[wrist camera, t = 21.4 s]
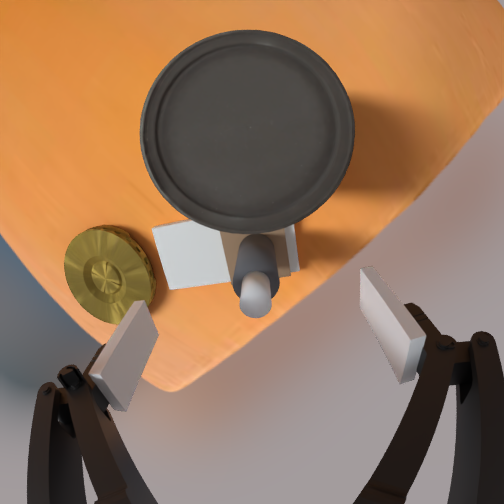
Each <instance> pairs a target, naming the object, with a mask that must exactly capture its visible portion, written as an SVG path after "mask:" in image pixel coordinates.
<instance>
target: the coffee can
mask: <svg viewBox="0 0 504 504" xmlns="http://www.w3.org/2000/svg"><path fill="white" fill-rule="evenodd" d="M354 138H355V122H354V115H353V110H352V106H351V103H350V100H349V97H348V95H347V92H346V90H345V88H344V86H343V85H342V83H341V81H340V80H339V78H338V76H337V75H336V73H335V72H334V71H333V70H332V68H331V67H330V66H329V65H328V63H327V62H326V61H324V60H323V59H322V58H321V57H320V56H319V55H318V54H316V53H315V52H314V51H313V50H311V49H310V48H308V47H307V46H305V45H303V44H302V43H300V42H298V41H296V40H293V39H291V38H288V37H286V36H283V35H280V34H277V33H273V32H267V31H261V30H235V31H229V32H224V33H219V34H216V35H213V36H210V37H207V38H205V39H203V40H200V41H198V42H196V43H194V44H192V45H191V46H189V47H187V48H186V49H185V50H183V51H182V52H180V53H179V54H178V55H177V56H176V57H174V58H173V59H172V60H171V61H170V62H169V63H168V64H167V65H166V66H165V68H164V69H163V70H162V71H161V72H160V74H159V75H158V77H157V78H156V80H155V81H154V83H153V85H152V87H151V88H150V90H149V93H148V95H147V98H146V100H145V103H144V107H143V110H142V115H141V121H140V145H141V151H142V155H143V160H144V163H145V166H146V169H147V171H148V173H149V176H150V178H151V180H152V181H153V183H154V185H155V186H156V188H157V189H158V191H159V192H160V193H161V195H162V196H163V197H164V198H165V199H166V200H167V201H168V202H169V203H170V204H171V205H172V206H173V207H174V208H175V209H176V210H177V211H179V212H180V213H181V214H183V215H184V216H186V217H187V218H189V219H191V220H192V221H194V222H196V223H198V224H200V225H203V226H205V227H208V228H211V229H214V230H218V231H222V232H227V233H232V234H260V233H268V232H272V231H276V230H280V229H283V228H286V227H288V226H291V225H293V224H295V223H297V222H299V221H301V220H303V219H304V218H306V217H307V216H309V215H310V214H312V213H313V212H314V211H316V210H317V209H318V208H319V207H320V206H322V205H323V204H324V203H325V202H326V201H327V200H328V199H329V198H330V197H331V195H332V194H333V193H334V192H335V190H336V189H337V188H338V186H339V185H340V183H341V181H342V179H343V178H344V176H345V174H346V171H347V169H348V166H349V163H350V160H351V156H352V152H353V147H354Z"/></svg>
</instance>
